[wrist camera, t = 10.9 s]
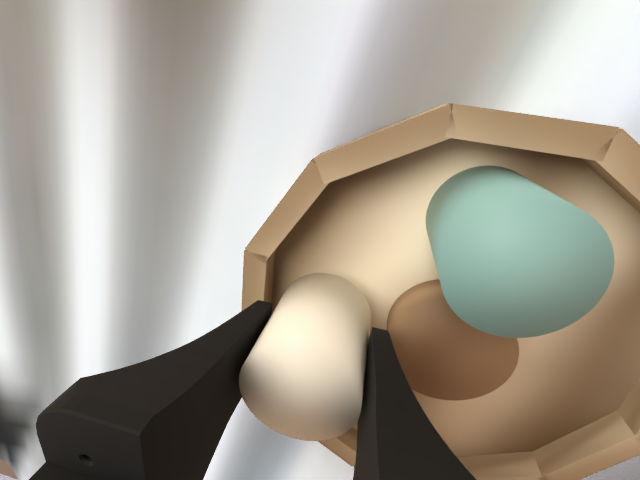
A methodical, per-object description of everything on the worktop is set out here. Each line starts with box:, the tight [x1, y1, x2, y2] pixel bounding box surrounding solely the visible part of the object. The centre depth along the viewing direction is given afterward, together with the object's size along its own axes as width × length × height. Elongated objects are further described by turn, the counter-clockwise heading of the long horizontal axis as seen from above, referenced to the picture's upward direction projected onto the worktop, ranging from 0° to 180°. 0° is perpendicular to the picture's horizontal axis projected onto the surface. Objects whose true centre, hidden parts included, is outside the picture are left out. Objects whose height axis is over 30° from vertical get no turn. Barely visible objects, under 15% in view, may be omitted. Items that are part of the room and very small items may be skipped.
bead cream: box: [239, 273, 371, 441], centre depth 13 cm, size 4×4×4 cm
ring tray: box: [242, 104, 640, 480], centre depth 14 cm, size 18×18×2 cm
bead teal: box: [426, 165, 614, 338], centre depth 11 cm, size 4×4×4 cm
